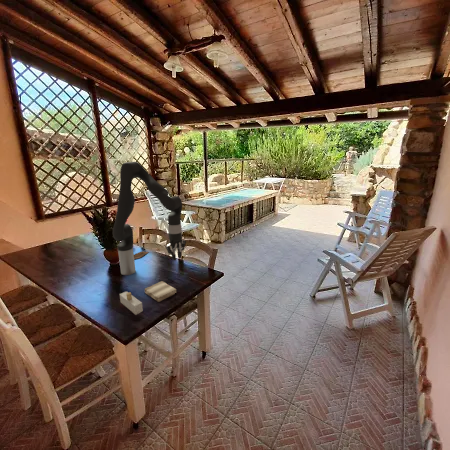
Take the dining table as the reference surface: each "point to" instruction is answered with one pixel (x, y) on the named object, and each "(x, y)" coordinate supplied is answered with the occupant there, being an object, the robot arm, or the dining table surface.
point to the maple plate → (160, 291)
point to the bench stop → (131, 302)
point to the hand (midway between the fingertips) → (176, 258)
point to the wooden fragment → (139, 255)
